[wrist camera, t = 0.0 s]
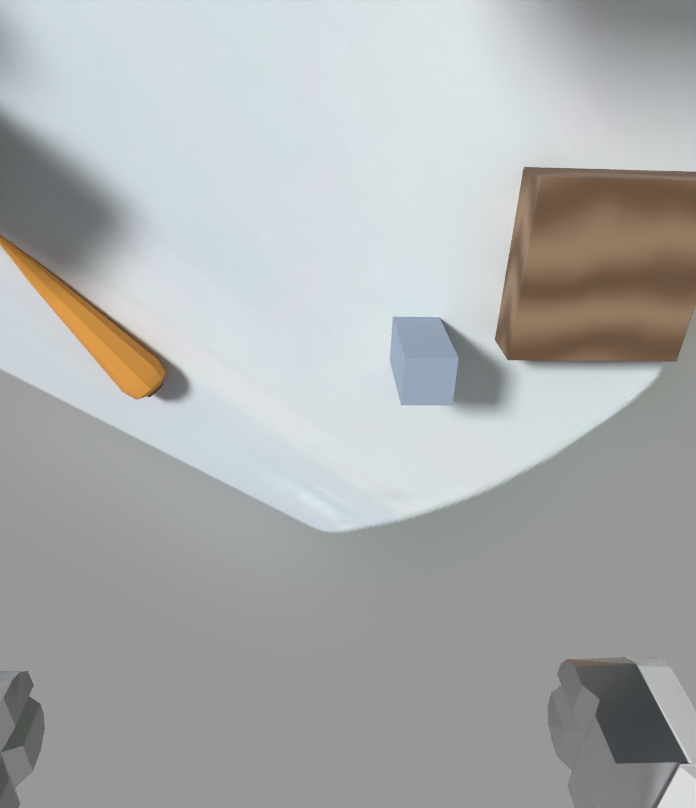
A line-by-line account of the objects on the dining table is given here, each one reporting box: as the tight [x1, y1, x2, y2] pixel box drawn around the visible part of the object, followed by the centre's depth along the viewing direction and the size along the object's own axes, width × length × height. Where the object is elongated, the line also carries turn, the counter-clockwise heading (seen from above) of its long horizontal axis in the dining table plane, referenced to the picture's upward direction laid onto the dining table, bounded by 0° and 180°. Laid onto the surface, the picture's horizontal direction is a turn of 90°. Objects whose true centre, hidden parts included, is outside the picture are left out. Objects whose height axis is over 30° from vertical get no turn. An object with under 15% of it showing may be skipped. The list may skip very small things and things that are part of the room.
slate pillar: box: [390, 317, 459, 405], centre depth 55 cm, size 4×4×9 cm
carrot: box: [0, 236, 166, 400], centre depth 55 cm, size 20×4×4 cm, turn 39°
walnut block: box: [495, 167, 696, 361], centre depth 54 cm, size 16×16×5 cm
